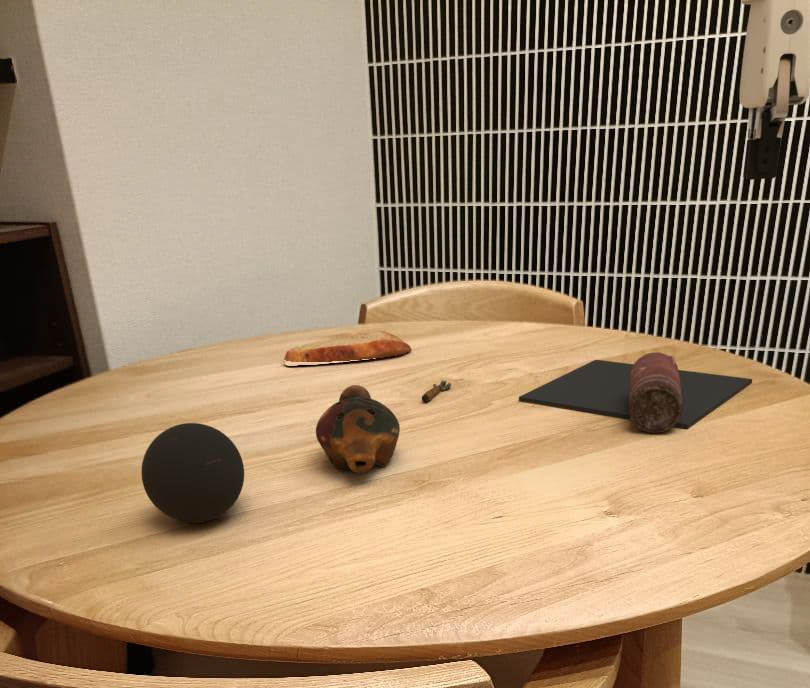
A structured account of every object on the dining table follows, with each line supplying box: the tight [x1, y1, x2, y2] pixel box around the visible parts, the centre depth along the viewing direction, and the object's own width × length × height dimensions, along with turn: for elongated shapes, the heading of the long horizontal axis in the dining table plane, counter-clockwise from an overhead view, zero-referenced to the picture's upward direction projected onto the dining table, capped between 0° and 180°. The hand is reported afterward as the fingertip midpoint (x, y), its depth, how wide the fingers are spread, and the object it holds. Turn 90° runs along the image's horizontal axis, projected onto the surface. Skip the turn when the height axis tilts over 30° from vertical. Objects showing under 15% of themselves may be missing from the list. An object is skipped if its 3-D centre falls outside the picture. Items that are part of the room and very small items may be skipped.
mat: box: [518, 359, 753, 430], centre depth 113 cm, size 24×22×1 cm
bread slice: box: [283, 330, 412, 362], centre depth 140 cm, size 18×18×4 cm
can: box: [629, 352, 683, 434], centre depth 102 cm, size 6×6×14 cm
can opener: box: [421, 379, 452, 403], centre depth 118 cm, size 9×2×1 cm, turn 152°
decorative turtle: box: [315, 384, 401, 474], centre depth 94 cm, size 10×15×8 cm, turn 10°
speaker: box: [141, 422, 245, 524], centre depth 82 cm, size 10×10×10 cm
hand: (759, 178), depth 92 cm, fingers closed
